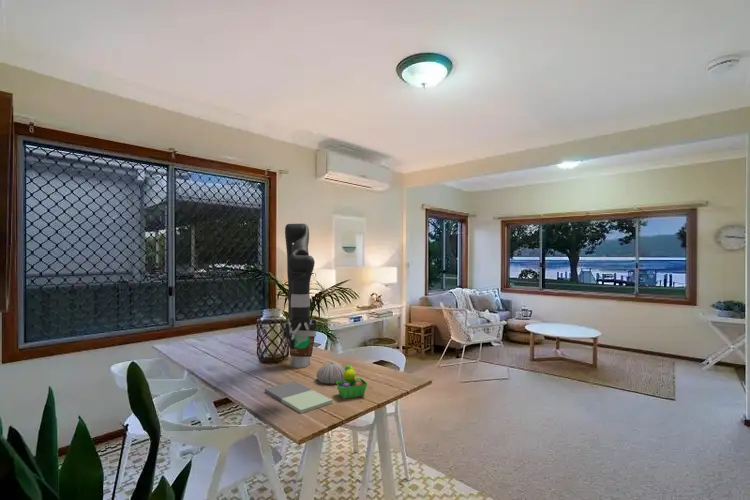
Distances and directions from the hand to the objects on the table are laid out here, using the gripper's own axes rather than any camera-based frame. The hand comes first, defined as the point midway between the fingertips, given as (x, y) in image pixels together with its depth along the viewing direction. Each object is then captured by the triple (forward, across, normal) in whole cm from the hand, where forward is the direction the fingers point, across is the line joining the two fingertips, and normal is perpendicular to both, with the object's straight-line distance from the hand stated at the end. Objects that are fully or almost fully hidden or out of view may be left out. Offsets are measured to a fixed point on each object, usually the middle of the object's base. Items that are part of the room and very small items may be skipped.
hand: (299, 347), depth 144 cm
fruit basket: (+21, -19, +9) cm, 29 cm away
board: (+20, -1, -3) cm, 21 cm away
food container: (+3, +1, 0) cm, 3 cm away
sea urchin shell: (+20, -23, -10) cm, 32 cm away
